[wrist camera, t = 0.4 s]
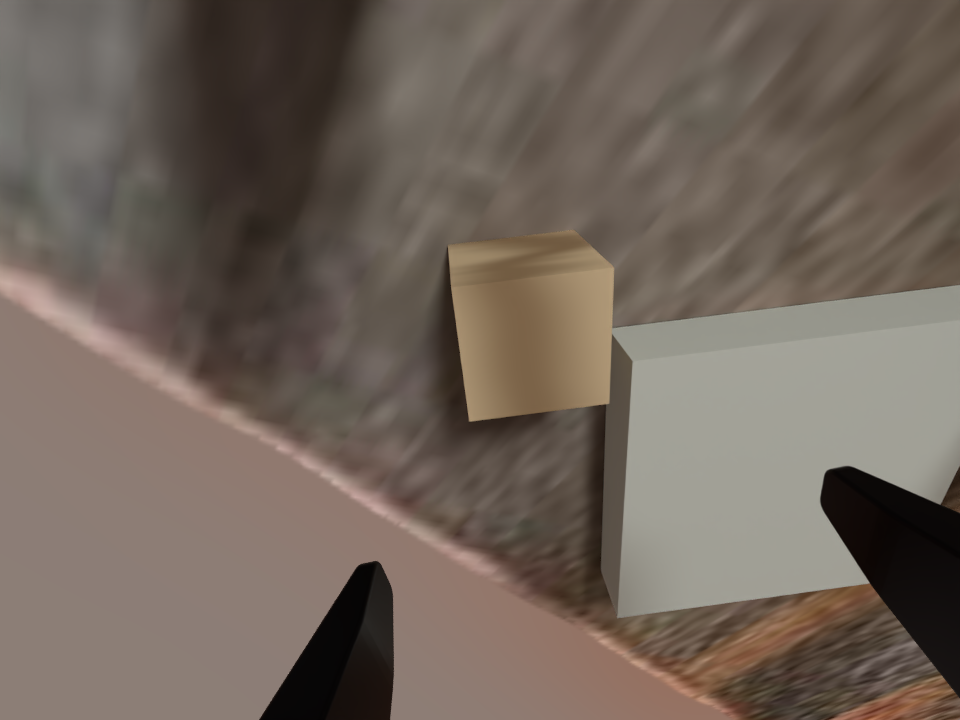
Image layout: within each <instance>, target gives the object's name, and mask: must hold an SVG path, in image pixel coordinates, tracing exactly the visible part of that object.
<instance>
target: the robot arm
mask: <svg viewBox="0 0 960 720" xmlns="http://www.w3.org/2000/svg"><path fill="white" fill-rule="evenodd" d="M820 504H821V507H822V510H823V512H824V513H825V515H826V516H827V518H828V520H829V521H830V523H831V524H832V526H833V527H834V529H835V530H836V532H837V534H838V535H839V537H840V538H841V540H842V541H843V543H844V544H845V546H846V547H847V549H848V551H849V552H850V554H851V555H852V557H853V558H854V560H855V561H856V563H857V565H858V566H859V568H860V569H861V571H862V572H863V574H864V575H865V577H866V578H867V580H868V581H869V583H870V584H871V585H872V587H873V588H874V589H875V591H876V592H877V593H878V595H879V596H880V597H881V599H882V600H883V601H884V602H885V604H886V605H887V606H888V608H889V609H890V610H891V611H892V613H893V614H894V615H895V616H896V618H897V619H898V620H899V622H900V623H901V624H902V625H903V627H904V628H905V629H906V630H907V632H908V633H909V634H910V636H911V637H912V638H913V639H914V641H915V642H916V643H917V644H918V646H919V647H920V648H921V650H922V651H923V652H924V653H925V655H926V656H927V657H928V658H929V660H930V661H931V662H932V664H933V665H934V666H935V667H936V669H937V670H938V671H939V672H940V674H941V675H942V676H943V678H944V679H945V680H946V681H947V683H948V684H949V685H950V686H951V688H952V689H953V690H954V692H955V693H956V694H957V695H958V697H959V698H960V513H958V512H956V511H954V510H952V509H949V508H947V507H945V506H942V505H940V504H938V503H935V502H933V501H931V500H929V499H926V498H924V497H922V496H919V495H917V494H915V493H912V492H910V491H908V490H905V489H903V488H901V487H899V486H896V485H894V484H892V483H889V482H887V481H885V480H882V479H880V478H878V477H876V476H873V475H871V474H869V473H866V472H864V471H862V470H859V469H857V468H855V467H852V466H842V467H837V468H832V469H828V470H827V471H826V472H825V474H824V478H823V484H822V489H821V495H820ZM393 648H394V646H393V593H392V588H391V585H390V583H389V581H388V579H387V576H386V574H385V572H384V570H383V568H382V565H381V564H380V563H379V562H377V561H373V562H368V563H363V564H360V565H359V566H358V567H357V568H356V569H355V571H354V572H353V574H352V576H351V577H350V579H349V580H348V582H347V584H346V585H345V586H344V588H343V590H342V591H341V593H340V594H339V596H338V597H337V599H336V600H335V602H334V604H333V605H332V607H331V608H330V610H329V612H328V613H327V615H326V616H325V618H324V619H323V621H322V622H321V624H320V625H319V627H318V629H317V630H316V632H315V633H314V635H313V636H312V638H311V640H310V641H309V643H308V645H307V646H306V648H305V649H304V650H303V652H302V654H301V655H300V657H299V658H298V660H297V661H296V663H295V665H294V666H293V668H292V669H291V671H290V672H289V674H288V676H287V677H286V679H285V680H284V682H283V684H282V685H281V687H280V688H279V690H278V691H277V693H276V694H275V696H274V697H273V699H272V701H271V702H270V704H269V705H268V707H267V708H266V710H265V711H264V713H263V715H262V716H261V718H260V719H259V720H390V714H391V703H392V692H393V677H394V651H393V650H394V649H393Z"/></svg>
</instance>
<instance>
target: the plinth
mask: <svg viewBox="0 0 960 720" xmlns="http://www.w3.org/2000/svg"><path fill="white" fill-rule="evenodd" d="M842 466H852V467H855V468H857V469H859V470H862V471H864V472H866V473H869V474H871V475H873V476H876V477H878V478H880V479H882V480H885V481H887V482H889V483H892V484H894V485H896V486H899V487H901V488H903V489H905V490H908V491H910V492H912V493H915V494H917V495H919V496H922V497H924V498H926V499H929V500H931V501H933V502H935V503H938V504H940V505H941V503H942V501H943V499H944V497H945V495H946V493H947V491H948V489H949V486H950V484H951V482H952V480H953V478H954V476H955V474H956V472H957V470H958V468H959V466H960V285H957V286H949V287H941V288H933V289H925V290H917V291H909V292H900V293H892V294H884V295H876V296H868V297H860V298H852V299H844V300H836V301H828V302H820V303H812V304H804V305H796V306H788V307H780V308H772V309H764V310H756V311H748V312H740V313H732V314H724V315H716V316H708V317H700V318H692V319H684V320H675V321H667V322H659V323H651V324H643V325H635V326H627V327H619V328H612V342H611V370H610V399H609V404H606V422H605V454H604V486H603V518H602V550H601V573H602V575H603V578H604V581H605V584H606V587H607V590H608V593H609V596H610V598H611V601H612V604H613V607H614V610H615V613H616V616H617V618H621V617H628V616H636V615H643V614H650V613H657V612H665V611H672V610H679V609H687V608H694V607H701V606H709V605H716V604H723V603H730V602H738V601H745V600H752V599H760V598H767V597H774V596H782V595H789V594H796V593H803V592H811V591H818V590H825V589H833V588H840V587H847V586H855V585H862V584H869V581H868V580H867V578H866V577H865V575H864V574H863V572H862V571H861V569H860V568H859V566H858V565H857V563H856V561H855V560H854V558H853V557H852V555H851V554H850V552H849V551H848V549H847V547H846V546H845V544H844V543H843V541H842V540H841V538H840V537H839V535H838V534H837V532H836V530H835V529H834V527H833V526H832V524H831V523H830V521H829V520H828V518H827V516H826V515H825V513H824V512H823V510H822V507H821V504H820V495H821V489H822V484H823V478H824V474H825V472H826V471H827V470H828V469H832V468H837V467H842Z"/></svg>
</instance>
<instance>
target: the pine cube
mask: <svg viewBox="0 0 960 720" xmlns="http://www.w3.org/2000/svg"><path fill="white" fill-rule="evenodd" d="M448 253H449V266H450V279H451V290H452V297H453V305H454V312H455V319H456V327H457V334H458V342H459V349H460V356H461V364H462V371H463V379H464V386H465V393H466V401H467V408H468V416H469V422H471V421H479V420H486V419H494V418H502V417H510V416H517V415H525V414H533V413H541V412H549V411H556V410H564V409H572V408H580V407H587V406H595V405H603V404H609V399H610V370H611V342H612V313H613V285H614V267H613V266H612V265H611V264H610V263H609V262H608V261H607V260H605V259H604V258H603V257H602V256H601V255H600V254H599V253H598V252H597V251H596V250H595V249H594V248H593V247H592V246H590V245H589V244H588V243H587V242H586V241H585V240H584V239H583V238H582V237H581V236H580V235H579V234H578V233H576V232H575V231H574V230H569V231H561V232H552V233H544V234H536V235H527V236H519V237H511V238H502V239H494V240H486V241H477V242H469V243H460V244H452V245H448Z"/></svg>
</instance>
